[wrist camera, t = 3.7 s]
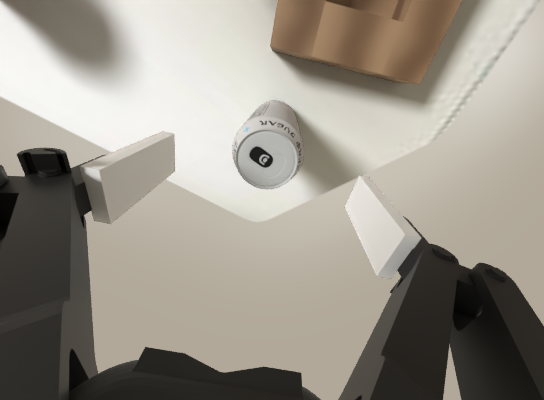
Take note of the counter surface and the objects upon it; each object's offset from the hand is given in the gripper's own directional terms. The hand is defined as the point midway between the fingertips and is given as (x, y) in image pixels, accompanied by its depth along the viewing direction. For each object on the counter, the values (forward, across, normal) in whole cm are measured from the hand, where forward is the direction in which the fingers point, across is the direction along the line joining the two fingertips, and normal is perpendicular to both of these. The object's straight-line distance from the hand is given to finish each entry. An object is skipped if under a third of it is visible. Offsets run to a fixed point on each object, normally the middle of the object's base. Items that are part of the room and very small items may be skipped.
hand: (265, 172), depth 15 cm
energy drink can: (+17, 0, 0) cm, 17 cm away
